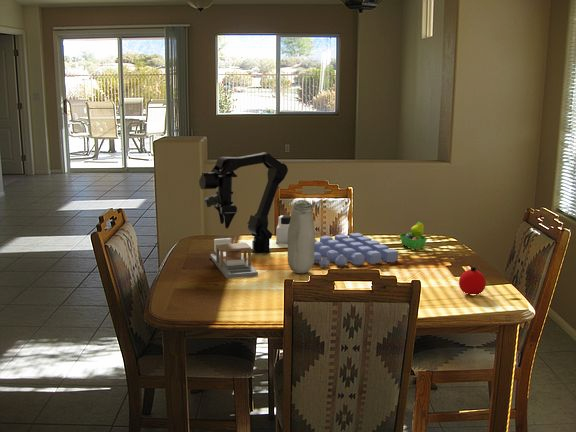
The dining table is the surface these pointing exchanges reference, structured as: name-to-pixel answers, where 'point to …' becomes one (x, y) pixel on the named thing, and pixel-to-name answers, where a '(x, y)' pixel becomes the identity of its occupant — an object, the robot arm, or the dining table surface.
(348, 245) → the blocks
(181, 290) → the dining table surface
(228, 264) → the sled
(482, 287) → the ornament
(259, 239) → the robot arm
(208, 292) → the dining table surface
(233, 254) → the block
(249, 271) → the grey piece
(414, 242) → the fruit basket
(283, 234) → the medicine bottle
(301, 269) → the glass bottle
